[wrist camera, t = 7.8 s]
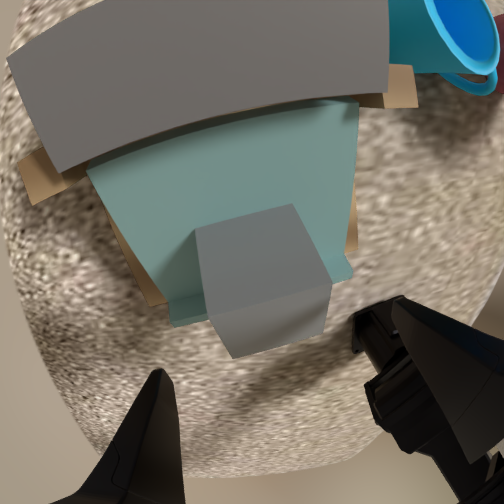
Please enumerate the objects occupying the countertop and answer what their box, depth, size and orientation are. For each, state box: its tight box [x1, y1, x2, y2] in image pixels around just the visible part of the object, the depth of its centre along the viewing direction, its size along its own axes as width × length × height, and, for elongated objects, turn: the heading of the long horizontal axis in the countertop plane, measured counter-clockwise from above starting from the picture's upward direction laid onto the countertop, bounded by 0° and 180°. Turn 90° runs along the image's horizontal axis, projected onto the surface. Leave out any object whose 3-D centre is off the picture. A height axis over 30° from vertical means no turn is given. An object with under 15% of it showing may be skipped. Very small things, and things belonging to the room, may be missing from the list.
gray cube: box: [195, 203, 333, 359], centre depth 14 cm, size 5×5×5 cm
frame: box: [17, 64, 418, 307], centre depth 14 cm, size 18×18×9 cm
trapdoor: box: [6, 0, 389, 328], centre depth 12 cm, size 17×12×5 cm
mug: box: [388, 0, 500, 96], centre depth 12 cm, size 12×8×8 cm
